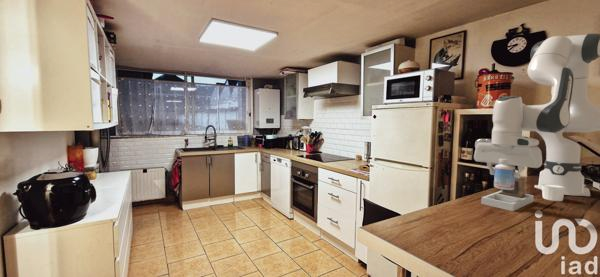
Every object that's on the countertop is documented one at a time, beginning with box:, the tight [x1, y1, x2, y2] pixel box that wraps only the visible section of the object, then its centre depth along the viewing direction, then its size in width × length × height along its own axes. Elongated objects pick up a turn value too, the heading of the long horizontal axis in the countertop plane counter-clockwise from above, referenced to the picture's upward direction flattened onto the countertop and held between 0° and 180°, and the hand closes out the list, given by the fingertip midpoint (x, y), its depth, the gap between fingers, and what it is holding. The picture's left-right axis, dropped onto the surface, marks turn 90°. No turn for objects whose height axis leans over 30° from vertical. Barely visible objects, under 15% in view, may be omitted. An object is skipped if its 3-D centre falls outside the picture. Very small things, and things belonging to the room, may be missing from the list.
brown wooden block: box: [501, 175, 527, 198], centre depth 103 cm, size 6×6×10 cm
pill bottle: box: [493, 159, 516, 190], centre depth 97 cm, size 6×6×11 cm
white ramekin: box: [541, 184, 565, 202], centre depth 105 cm, size 7×7×7 cm
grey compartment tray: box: [480, 189, 535, 212], centre depth 101 cm, size 20×10×4 cm, turn 123°
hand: (504, 176), depth 97 cm, fingers closed on pill bottle, 6 cm apart
